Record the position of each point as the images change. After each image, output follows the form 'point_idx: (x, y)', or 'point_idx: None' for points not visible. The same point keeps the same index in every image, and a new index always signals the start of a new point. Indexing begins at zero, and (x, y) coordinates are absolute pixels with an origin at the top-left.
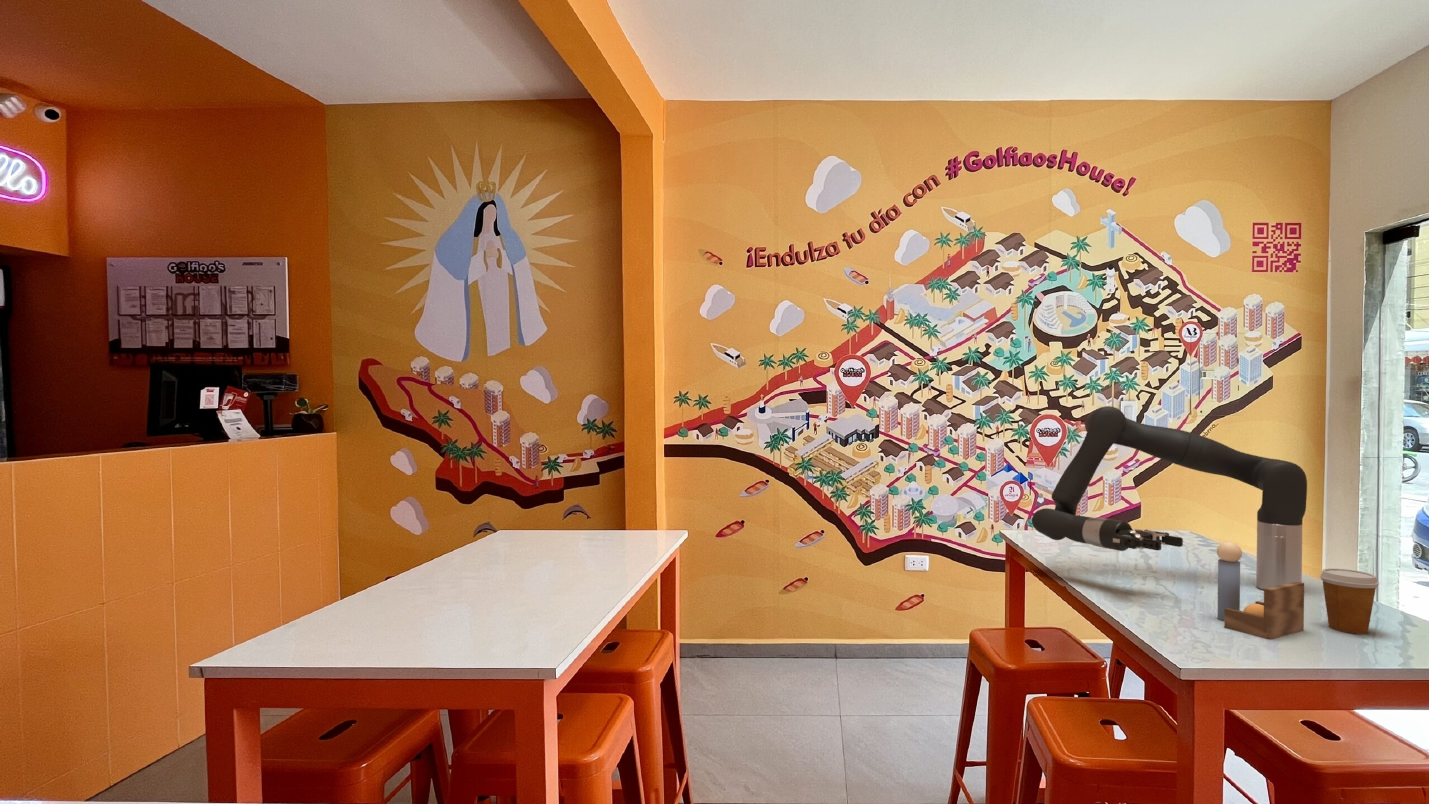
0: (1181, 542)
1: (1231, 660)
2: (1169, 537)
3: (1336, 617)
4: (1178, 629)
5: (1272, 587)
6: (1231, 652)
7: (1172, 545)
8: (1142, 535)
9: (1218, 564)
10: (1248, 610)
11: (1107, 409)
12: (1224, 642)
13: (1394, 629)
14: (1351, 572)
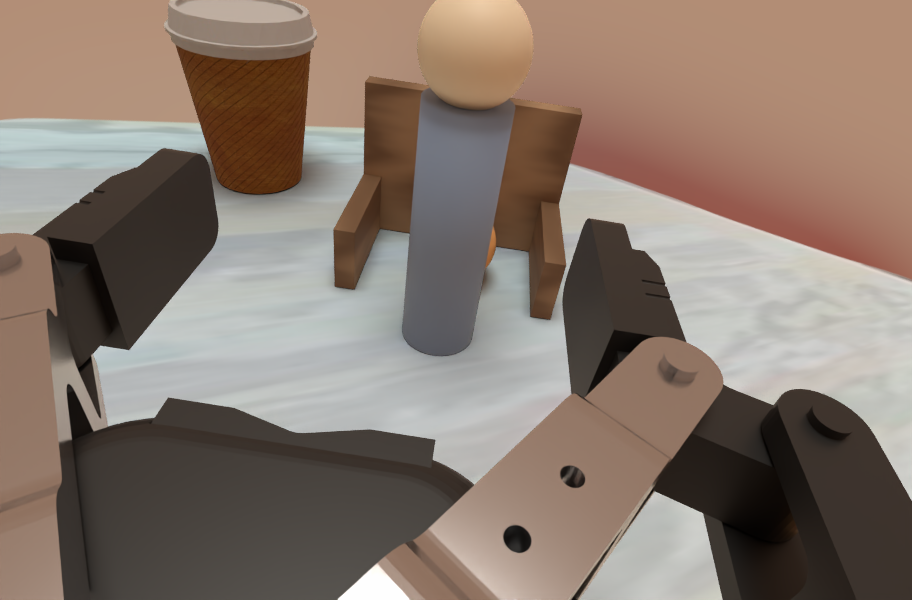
0: (207, 193)
1: (799, 263)
2: (130, 229)
3: (297, 151)
4: (737, 389)
5: (536, 106)
6: (750, 271)
7: (178, 289)
8: (341, 458)
9: (494, 139)
10: (491, 235)
11: None
12: (696, 292)
13: (174, 138)
14: (191, 7)
